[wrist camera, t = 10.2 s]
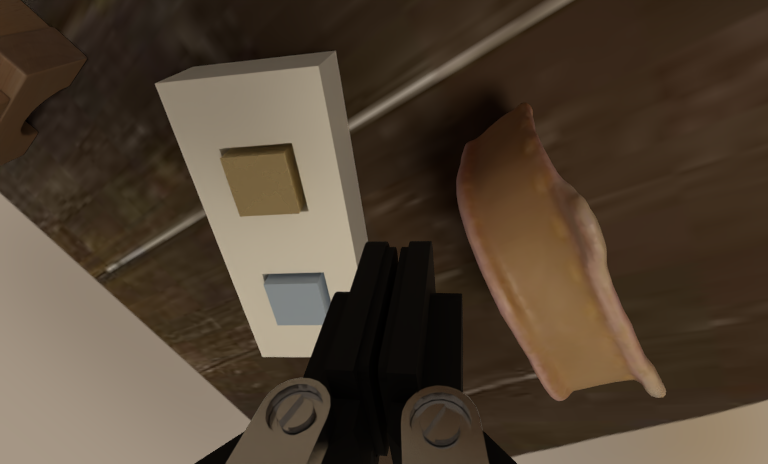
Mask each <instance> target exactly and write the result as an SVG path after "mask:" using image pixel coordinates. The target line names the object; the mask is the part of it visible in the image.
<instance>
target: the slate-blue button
mask: <svg viewBox="0 0 768 464" xmlns="http://www.w3.org/2000/svg"><path fill="white" fill-rule="evenodd" d="M263 285H264V288H265V291H266V293H267V296H268V299H269V302H270V305H271V308H272V311H273V314H274V317H275V319H276V322H277V325H323V322H324V319H325V317H326V314H327V311H328V308H329V306H330V303H331V300H330V296H329V292H328V288H327V284H326V279H325V275H324V272H319V273H283V274H269V275H268V277H267V279H266V281H265V283H264V284H263Z"/></svg>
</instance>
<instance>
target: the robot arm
mask: <svg viewBox="0 0 768 464" xmlns="http://www.w3.org/2000/svg"><path fill="white" fill-rule="evenodd" d="M389 446H390V451H391V455H392V460H393V464H517V463H516V462H515V461H514V460H513V459H512V458H511V457H510V456H509V455H508V454H507V453H506V452H505V451H504V450H502V449H501V448H500V447H499V446H498V445H497V444H496V443H495V442H494V441H493V440H492V439H491V438H490V437H489V436H488V435H487V434H486V433H485V432H484V431H483V430H482V426H481V421H480V416H479V413H478V411H477V408H476V406H475V404H474V403H473V402H472V401H471V399H470V398H469V397H468V396H467V395H465V394H464V393H463V312H462V294H456V293H436V291H435V277H434V262H433V248H432V242H431V241H410V243H409V247H402V248H401V252H400V257H399V262H398V256H397V249H396V247H389V243H388V242H366V243H365V246H364V249H363V252H362V255H361V258H360V261H359V264H358V267H357V271H356V274H355V277H354V280H353V283H352V286H351V289H350V292H336V293H335V294H334V296H333V298H332V300H331V303H330V306H329V308H328V311H327V314H326V317H325V319H324V322H323V325H322V328H321V330H320V333H319V336H318V339H317V341H316V344H315V347H314V350H313V352H312V355H311V358H310V360H309V363H308V366H307V369H306V371H305V374H304V377H303V378H296V379H292V380H288V381H286V382H284V383H282V384H280V385H278V386H277V387H276V388H275V389H273V390H272V391H271V392H270V393H269V394H268V395H267V396H266V398H265V399H264V400H263V402H262V403H261V405H260V407H259V408H258V410H257V412H256V413H255V415H254V417H253V418H252V420H251V422H250V424H249V425H248V427H247V428H246V430H245V431H244V432H243V433H241V434H240V435H238V436H237V437H235V438H234V439H232V440H230V441H229V442H227V443H226V444H225V445H223V446H221V447H220V448H218V449H217V450H215V451H213V452H212V453H210V454H209V455H207V456H206V457H204V458H203V459H201V460H199V461H198V462H196V463H195V464H378V462H379V456H380V455H381V456H387V454H388V450H389Z"/></svg>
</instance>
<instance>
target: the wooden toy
mask: <svg viewBox="0 0 768 464" xmlns="http://www.w3.org/2000/svg"><path fill="white" fill-rule="evenodd" d="M86 60H87V57H86V56H85V55H84V54H83V53H82V52H81V51H80V50H79V49H78V48H77V47H75V46H74V45H73V44H72V43H71V42H70V41H69V40H68V39H67V38H66V37H64V36H63V35H62V34H61V33H60V32H59V31H58V30H57V29H56V28H54V27H50V26H48V25H47V24H46V23H45V22H44V21H43V20H42V19H41V18H40V17H39V16H38V15H36V14H35V13H34V12H33V11H32V10H31V9H30V8H29V7H28V6H27V5H25V4H24V3H23V2H22V1H21V0H0V166H1V165H3V164H5V163H7V162H9V161H11V160H13V159H16V158H18V157H20V156H22V155H24V154H25V152H26V151H27V149H28V148H29V146H30V145H31V143H32V142H33V140H34V139H35V137H36V136H37V134H38V131H37V130H36V129H34V128H33V127H32V126H31V125H29V124H28V123H27V122H26V121H25V120H26V119H27V117H28V116H29V115H30V114H31V112H32V111H33V110H34V109H35V108H37V107H38V106H39V105H40V104H41V103H42V102H43V101H44V100H46V99H47V98H49V97H50V96H52V95H53V94H55V93H56V92H58V91H59V90H61V89H63V88H66V87H68V86H70V84H71V83H72V81H73V80H74V78H75V77H76V75H77V74H78V72H79V71H80V69H81V68H82V66H83V65H84V63H85V62H86Z"/></svg>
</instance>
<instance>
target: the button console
mask: <svg viewBox="0 0 768 464" xmlns="http://www.w3.org/2000/svg"><path fill="white" fill-rule="evenodd" d="M155 86H156V88H157V91H158V93H159V96H160V98H161V101H162V103H163V106H164V108H165V111H166V114H167V116H168V119H169V121H170V124H171V126H172V129H173V131H174V134H175V136H176V139H177V141H178V144H179V147H180V149H181V152H182V154H183V157H184V159H185V162H186V164H187V167H188V169H189V172H190V174H191V177H192V180H193V182H194V185H195V187H196V190H197V192H198V195H199V197H200V200H201V202H202V205H203V207H204V210H205V213H206V215H207V218H208V220H209V223H210V225H211V228H212V230H213V233H214V235H215V238H216V240H217V243H218V246H219V248H220V251H221V253H222V256H223V258H224V261H225V263H226V266H227V268H228V271H229V274H230V276H231V279H232V281H233V284H234V286H235V289H236V291H237V294H238V296H239V299H240V301H241V304H242V307H243V309H244V312H245V314H246V317H247V319H248V322H249V324H250V327H251V329H252V332H253V334H254V337H255V340H256V342H257V345H258V347H259V350H260V352H261V355H262V357H311V355H312V352H313V350H314V347H315V344H316V341H317V339H318V336H319V333H320V330H321V328H322V325H277V322H276V319H275V317H274V314H273V311H272V308H271V305H270V302H269V299H268V296H267V293H266V291H265V288H264V285H263V284H264V283H265V281H266V279H267V277H268V275H269V274H283V273H319V272H324V275H325V279H326V284H327V288H328V292H329V296H330V300H332V298H333V296H334V294H335V293H336V292H350V289H351V286H352V283H353V280H354V277H355V274H356V271H357V267H358V264H359V261H360V258H361V255H362V252H363V249H364V246H365V243H366V242H368V239H367V233H366V227H365V221H364V215H363V209H362V203H361V197H360V191H359V185H358V179H357V174H356V168H355V162H354V156H353V150H352V144H351V138H350V132H349V126H348V120H347V114H346V109H345V103H344V97H343V91H342V85H341V79H340V73H339V67H338V61H337V55H336V51H328V52H319V53H310V54H302V55H293V56H284V57H275V58H266V59H257V60H249V61H240V62H231V63H222V64H213V65H204V66H196V67H191V68H189V69H187V70H184V71H182V72H180V73H178V74H175V75H173V76H171V77H168V78H166V79H164V80H162V81H159V82H157V83H155ZM285 143H292V145H293V150H294V154H295V158H296V162H297V166H298V170H299V174H300V178H301V182H302V186H303V190H304V194H305V198H306V203H305V204H304V206H303V208H302V210H301V212H300V214H282V215H262V216H243V217H240V215H239V213H238V210H237V207H236V204H235V201H234V198H233V195H232V192H231V190H230V187H229V184H228V181H227V178H226V175H225V172H224V169H223V166H222V164H221V161H220V158H221V157H222V156H223V155H224V154H225V153H226V152H227V151H229V150H230V149H231V148H234V147H247V146H260V145H272V144H285Z"/></svg>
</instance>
